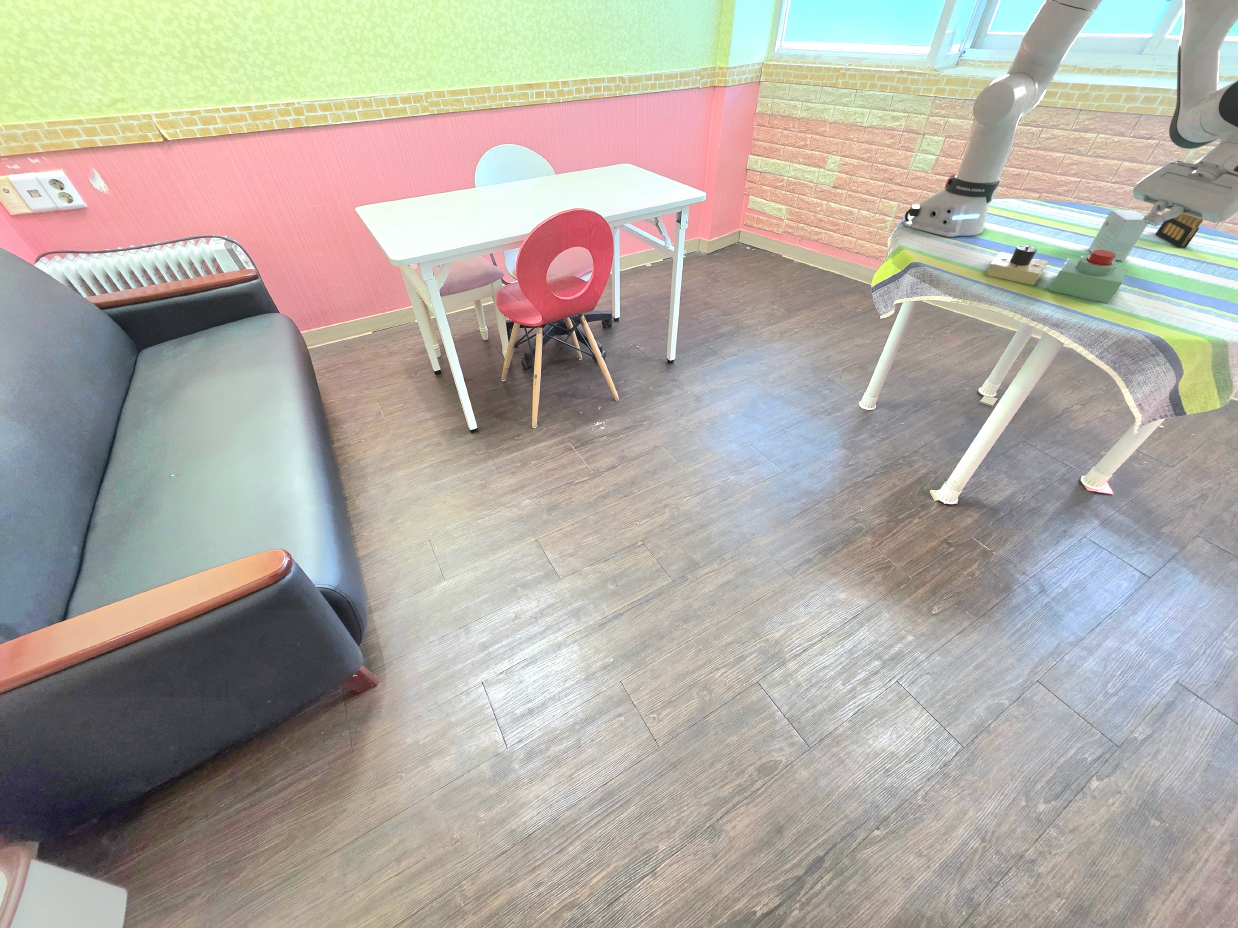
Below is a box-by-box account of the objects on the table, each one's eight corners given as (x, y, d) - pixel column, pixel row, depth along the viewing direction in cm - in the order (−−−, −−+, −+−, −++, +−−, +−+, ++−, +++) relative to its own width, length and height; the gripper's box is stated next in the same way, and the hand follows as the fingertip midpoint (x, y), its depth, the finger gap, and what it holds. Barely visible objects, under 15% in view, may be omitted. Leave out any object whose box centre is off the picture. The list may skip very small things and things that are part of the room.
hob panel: (985, 275, 131) (991, 263, 129) (995, 263, 137) (1001, 251, 134) (1033, 285, 126) (1040, 273, 124) (1042, 272, 131) (1049, 260, 129)
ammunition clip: (1154, 234, 146) (1184, 189, 138) (1161, 234, 146) (1192, 189, 137) (1178, 247, 138) (1212, 201, 130) (1186, 247, 138) (1220, 201, 130)
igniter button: (1085, 264, 118) (1091, 254, 117) (1088, 258, 121) (1094, 248, 119) (1107, 268, 116) (1114, 258, 115) (1111, 262, 118) (1117, 252, 117)
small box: (1124, 261, 133) (1151, 220, 126) (1101, 260, 134) (1126, 219, 127) (1109, 250, 139) (1135, 210, 132) (1087, 249, 140) (1110, 209, 133)
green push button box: (1048, 290, 123) (1064, 262, 119) (1057, 277, 129) (1073, 249, 124) (1108, 303, 117) (1127, 274, 113) (1114, 288, 122) (1133, 260, 118)
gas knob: (1028, 266, 127) (1036, 251, 124) (1008, 263, 129) (1016, 248, 126) (1030, 261, 129) (1038, 246, 127) (1011, 257, 131) (1018, 243, 129)
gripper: (1170, 149, 113) (1106, 200, 119) (1271, 171, 99) (1192, 228, 104) (1173, 169, 117) (1110, 218, 123) (1270, 193, 102) (1194, 247, 108)
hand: (1148, 223), depth 113 cm, fingers closed
